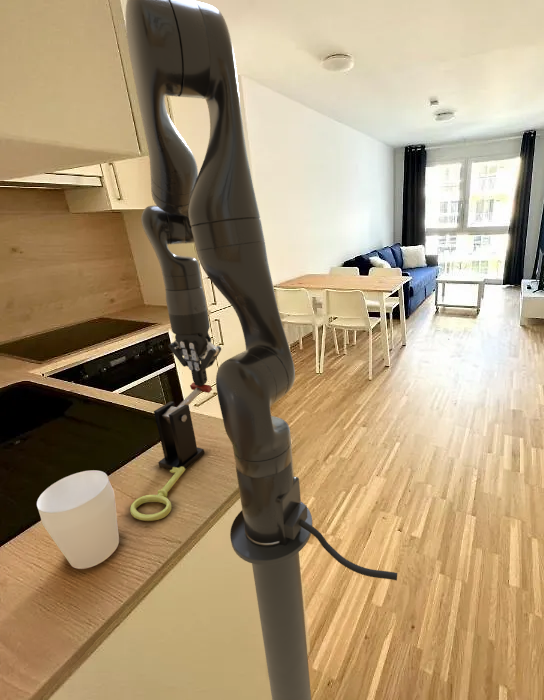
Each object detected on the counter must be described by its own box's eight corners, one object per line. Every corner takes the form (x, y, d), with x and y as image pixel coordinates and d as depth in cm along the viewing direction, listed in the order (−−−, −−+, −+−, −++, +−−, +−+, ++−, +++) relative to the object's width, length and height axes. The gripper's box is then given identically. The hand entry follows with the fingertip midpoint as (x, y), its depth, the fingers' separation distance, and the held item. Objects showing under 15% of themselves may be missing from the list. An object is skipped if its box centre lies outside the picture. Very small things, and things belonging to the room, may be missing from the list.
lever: (195, 388, 83) (192, 380, 81) (213, 391, 81) (209, 383, 79) (161, 422, 74) (156, 414, 73) (179, 427, 73) (175, 418, 71)
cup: (52, 586, 51) (24, 522, 47) (69, 537, 59) (47, 479, 55) (123, 564, 54) (103, 501, 50) (131, 520, 62) (114, 463, 58)
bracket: (183, 447, 82) (173, 398, 77) (204, 453, 80) (195, 402, 75) (159, 466, 76) (146, 413, 71) (180, 473, 74) (169, 419, 69)
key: (187, 472, 74) (185, 464, 73) (167, 520, 62) (165, 510, 61) (151, 476, 73) (148, 467, 72) (124, 524, 61) (121, 515, 61)
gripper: (225, 307, 75) (235, 381, 81) (177, 302, 80) (190, 373, 86) (200, 316, 69) (213, 396, 75) (149, 310, 73) (165, 386, 80)
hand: (200, 384), depth 80 cm, fingers closed
